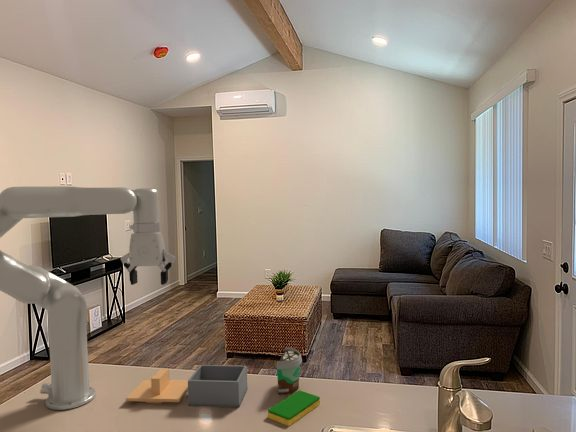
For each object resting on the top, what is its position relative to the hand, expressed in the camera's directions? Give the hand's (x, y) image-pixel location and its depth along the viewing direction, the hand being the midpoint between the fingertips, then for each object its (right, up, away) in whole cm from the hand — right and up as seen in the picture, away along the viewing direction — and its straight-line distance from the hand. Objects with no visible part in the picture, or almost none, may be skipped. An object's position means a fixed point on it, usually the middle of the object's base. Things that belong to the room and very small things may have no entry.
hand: (149, 283), depth 132 cm
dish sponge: (+45, -31, -20) cm, 58 cm away
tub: (+23, -30, -11) cm, 40 cm away
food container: (+44, -30, -7) cm, 54 cm away
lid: (+6, -31, -9) cm, 33 cm away
